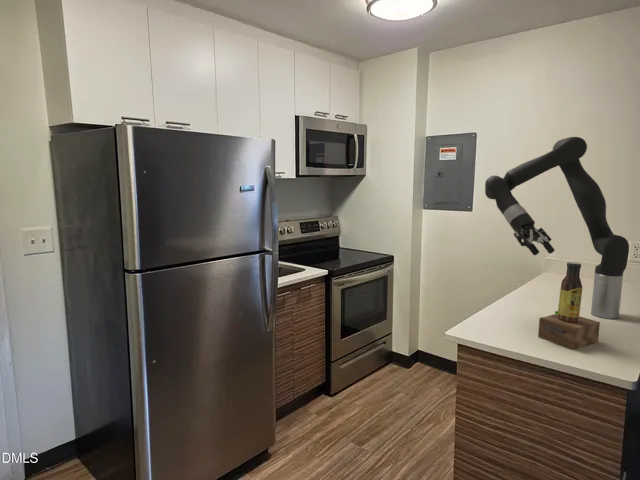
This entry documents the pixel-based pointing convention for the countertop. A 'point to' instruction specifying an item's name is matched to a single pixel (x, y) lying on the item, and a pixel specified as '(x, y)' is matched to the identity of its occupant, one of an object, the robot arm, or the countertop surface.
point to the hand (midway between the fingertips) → (544, 253)
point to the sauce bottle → (570, 294)
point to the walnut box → (569, 331)
